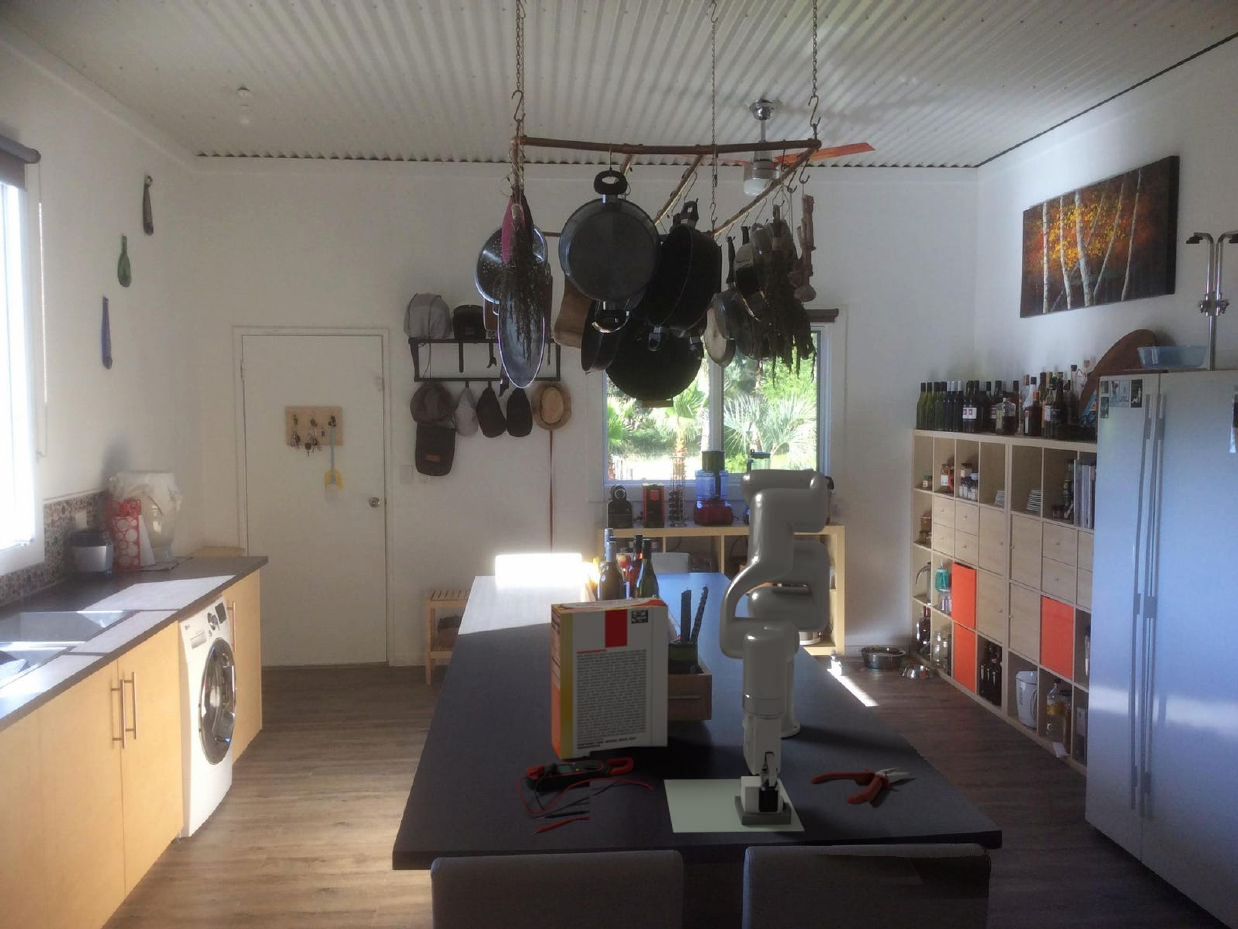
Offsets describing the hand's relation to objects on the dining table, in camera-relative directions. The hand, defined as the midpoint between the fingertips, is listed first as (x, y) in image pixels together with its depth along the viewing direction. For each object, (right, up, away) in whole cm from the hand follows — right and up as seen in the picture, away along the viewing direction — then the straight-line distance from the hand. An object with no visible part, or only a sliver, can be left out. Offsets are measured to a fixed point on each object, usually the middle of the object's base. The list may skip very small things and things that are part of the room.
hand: (762, 797), depth 155 cm
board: (-5, -4, +4) cm, 7 cm away
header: (0, -3, 0) cm, 3 cm away
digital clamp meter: (-31, -4, +9) cm, 33 cm away
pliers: (+22, -4, +12) cm, 25 cm away
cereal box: (-27, -1, +32) cm, 42 cm away
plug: (0, -3, 0) cm, 3 cm away
